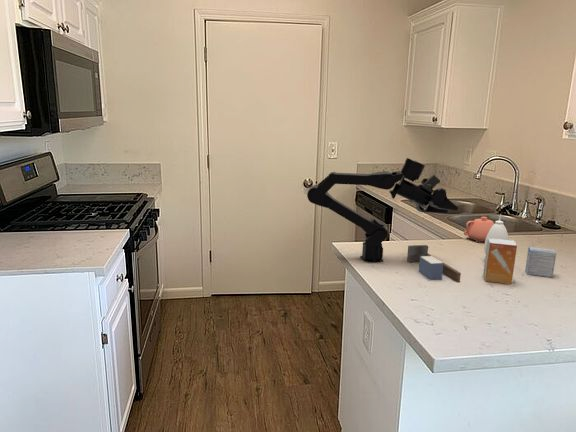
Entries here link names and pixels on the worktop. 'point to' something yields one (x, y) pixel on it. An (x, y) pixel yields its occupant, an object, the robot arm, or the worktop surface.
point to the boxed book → (431, 267)
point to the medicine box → (540, 262)
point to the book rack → (422, 250)
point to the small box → (499, 260)
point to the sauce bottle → (497, 232)
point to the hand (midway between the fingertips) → (452, 210)
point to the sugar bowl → (478, 229)
